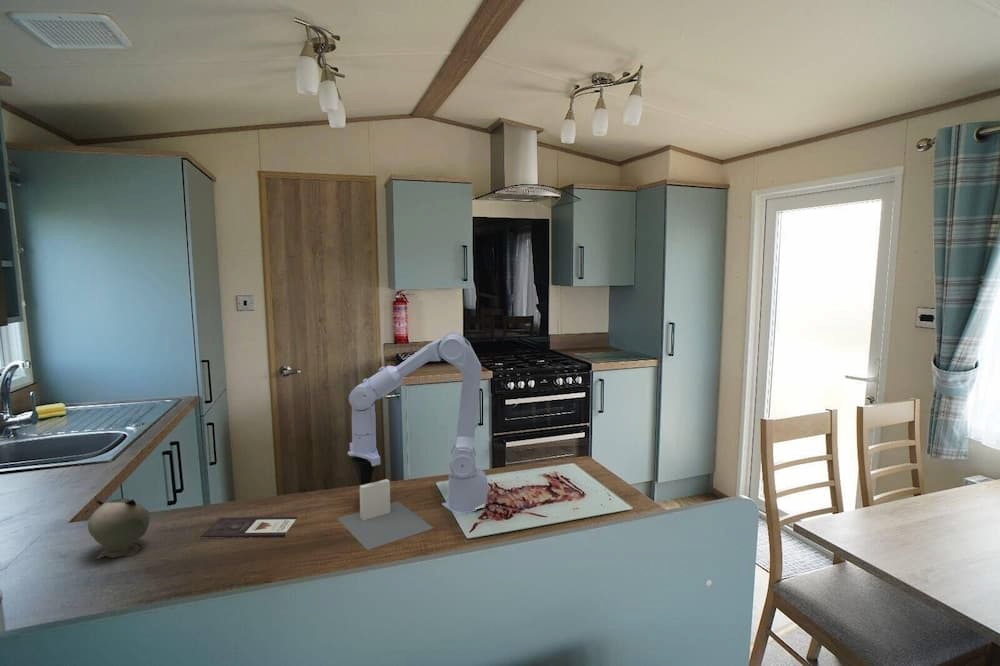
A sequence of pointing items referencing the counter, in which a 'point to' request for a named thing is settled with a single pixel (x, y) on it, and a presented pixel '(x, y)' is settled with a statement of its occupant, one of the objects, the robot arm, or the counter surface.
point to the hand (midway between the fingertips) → (364, 485)
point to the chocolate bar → (250, 527)
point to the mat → (385, 526)
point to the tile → (374, 499)
